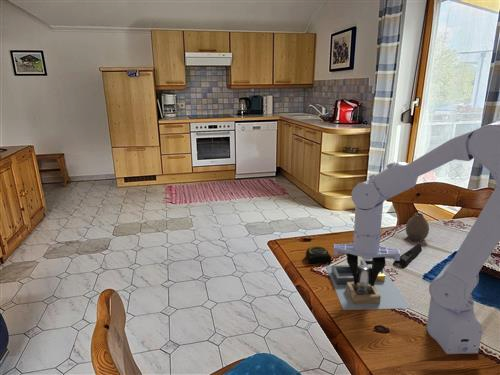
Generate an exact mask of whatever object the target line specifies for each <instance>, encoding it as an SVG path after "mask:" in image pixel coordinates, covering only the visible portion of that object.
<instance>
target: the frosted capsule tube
mask: <svg viewBox="0 0 500 375" xmlns="http://www.w3.org/2000/svg"><path fill="white" fill-rule="evenodd" d="M371 273H372V268H371V267H370V266H368V265H360V264H358V269H357V285H356V294H357V295H370V286H371Z"/></svg>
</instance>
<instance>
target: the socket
mask: <svg viewBox="0 0 500 375" xmlns="http://www.w3.org/2000/svg"><path fill="white" fill-rule="evenodd" d="M368 264H372V259H371V260H368V259H360V264H359V265H368ZM331 267H332V271H331V272H332V275H333V277H334V279H335V282H336V284H337V285H347V282H354V278H353V276H339V274H338V273H352V271H351V268H350V266H349V264H347V265H346V264H343V265H331ZM383 269H384V268H383ZM383 269H382V270H381V271H380V272H381V273H383Z"/></svg>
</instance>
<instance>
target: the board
mask: <svg viewBox="0 0 500 375" xmlns="http://www.w3.org/2000/svg"><path fill="white" fill-rule="evenodd" d="M325 268H326V271H327V273H328V275H329V278H330V280H331V283H332V285H333V288H334V290H335V294H336V295H337V297H338V301H339V302H340V306H341V308H342V311H357V310H358V311H360V310H361V311H362V310H363V311H364V310H393V309H394V310H395V309H399V310H400V309H412V307H411V306H410V304H409V303H408V301H407V300H406V299H405V297H404V296H403V294H402V293H401V291H400V290H399V288H398V287H397V286H396V284H395V283H394V282H393V281H392V279H391V278H390V276H389V275H388V273H387V271H385V269H384V268H383V273H384V275H385V281H379V282H375V283H374V286H375V288H376V289H377V291H378V293H379V294H380V296H381V299H380V304H353V302H352V300H351V298H350V295H349V293H348V291H347V285H337V284H336V282H335V279H334V277H333V275H332V272H331V271H332V266H325ZM338 274H339V276H353V274H352V273H338ZM355 293H356V291H355ZM356 295H357V294H356ZM370 295H371V293H370Z"/></svg>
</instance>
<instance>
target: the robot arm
mask: <svg viewBox="0 0 500 375" xmlns="http://www.w3.org/2000/svg"><path fill="white" fill-rule="evenodd" d="M474 159H475V160H476V161H477V162H478V163H479V164H481V165H482V166H483V167H484V168H485V169H487V170H488V171H489V173H490V175H491V177H492V178H493V180H494V182H495V183H496V186H495V188H494V189H493V191H492V193H491V195H490V196H489V198H488V200H487V202H486V203H485V205H484V206H483V208H482V210H481V211H480V212H479V215H478V217H477V218H476V220H475V221H474V223H473V225H472V226H471V228H470V229H469V232H468V233H467V234H466V236H465V238H464V240H463V241H462V243H461V245H460V247H459V248H458V250H457V252H456V253H455V255H454V257H453V258H452V260H451V261H448V262H447V263H446V264H445V265H444V266H443V269H442V270H441V271H440V272H439V274H438V275H436V277H435V278H434V279H432V280H431V282H430V283H429V286H428V290H429V291H428V292H429V293H428V294H430V300H429V308H428V313H427V314H428V316H427V321H426V331H427V332H428V333H427V334H428V335H429V336H430V337H431V338H432V339H434V340H435V341H436V342H437V344H438V345H439V346H440V347H441V348H442V350H443V351H444V353H445V354H447V355H457V354H458V355H459V354H462V355H463V354H464V355H466V354H469V355H470V354H479V352H480V351H479V350H480V344H481V341H482V340H481V339H482V336H483V335H482V334H483V326H482V324H481V323H480V321H479V320H478V318H477V316H476V313H475V310H474V306H475V301H474V298H473V295H472V292H473V291H474V289H475V288H476V287H477V285H478V284H479V280H480V277H479V273H480V271H481V270H482V267H483V266H484V265H485V264H486V262H487V260H488V259H489V258H490V256H491V254H492V253H493V251H494V250H495V249H496V247H497V245H498V244H499V243H500V119H497V120H494V121H491V123H489V124H485V125H483V126H480V127H478V128H476V129H473V130H470V131H467V132H464V133H462V134H460V135H457V136H455V137H453V138H450V139H449V140H447V141H445V142H444V143H441V145H438V146H437V147H435V148H433V149H432V150H430V151H428V152H426V153H425V154H423V155H421V156H420V157H418V158H416V159H415V160H413V161H412V162H404V161H398V162H395V161H392V162H390V163H388V164H387V165H386V168H385V169H384V170H381V171H380V172H378V173H376V174H375V173H373V174H371V175H369V176H368V178H369V179H368V180H365V181H363V182H358V183H357V184H356V185H355V186H354V187H353V188H352V189H351V190H352V191H351V193H350V194H351V195H350V196H351V201H352V202H353V204H354V205H355V209H354V210H355V211H354V225H353V226H354V227H353V243H337V244H336V243H334V244H333V255H334V256H338V255H345V256H346V262H347V265H349V266H350V268H351V271H352V274H353V278H354V284H357V269H358V266H359V257H361V260H365V259H368V260H371V259H372V273H371V286H374V283H375V281H376V278H377V276H378V274H379V273H380V271H381V270H382V269H384V268H385V266H386V263H387V262H386V259H389V260H394V261H400V256H401V251H400V249H398V248H391V247H386V246H382V245H380V242H381V231H382V230H381V229H382V219H383V218H382V217H383V205H384V202H385V201H386V200H389V199H391V198H393V197H396V196H397V195H400V194H401V193H404V192H406V191H408V190H410V189H412V188H414V187H415V186H416V184H417V181H418V179H419V177H420V176H423V175H425V174H427V173H429V172H431V171H433V170H435V169H437V168H440V167H442V166H444V165H446V164H448V163H450V162H452V161H455V160H456V161H457V160H458V161H464V162H471V161H472V160H474Z"/></svg>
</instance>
